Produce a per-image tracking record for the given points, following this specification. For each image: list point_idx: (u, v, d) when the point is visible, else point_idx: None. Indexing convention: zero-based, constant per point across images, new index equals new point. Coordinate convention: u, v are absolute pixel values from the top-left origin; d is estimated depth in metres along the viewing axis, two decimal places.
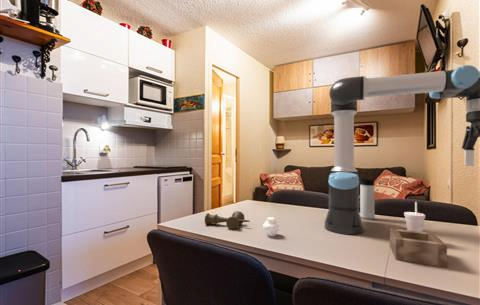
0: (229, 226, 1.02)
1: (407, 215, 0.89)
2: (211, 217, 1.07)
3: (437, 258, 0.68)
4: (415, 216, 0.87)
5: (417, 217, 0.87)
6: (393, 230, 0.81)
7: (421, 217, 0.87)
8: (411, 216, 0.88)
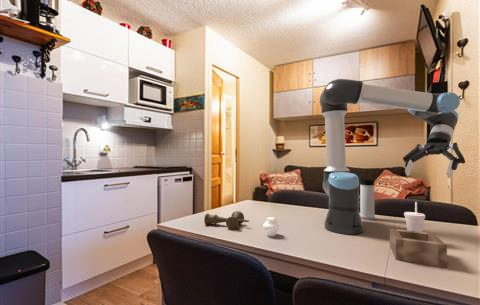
0: (229, 226, 1.01)
1: (407, 215, 0.89)
2: (211, 217, 1.07)
3: (437, 258, 0.68)
4: (415, 216, 0.87)
5: (417, 217, 0.87)
6: (393, 230, 0.81)
7: (421, 217, 0.87)
8: (411, 216, 0.88)
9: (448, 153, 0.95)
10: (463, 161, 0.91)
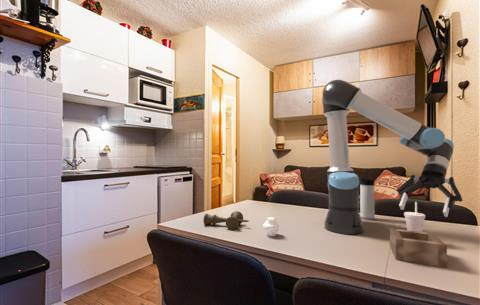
0: (228, 226, 1.01)
1: (407, 215, 0.89)
2: (210, 217, 1.07)
3: (437, 258, 0.68)
4: (415, 216, 0.87)
5: (417, 217, 0.87)
6: (393, 230, 0.81)
7: (421, 217, 0.87)
8: (411, 216, 0.88)
9: (444, 189, 0.90)
10: (460, 199, 0.86)
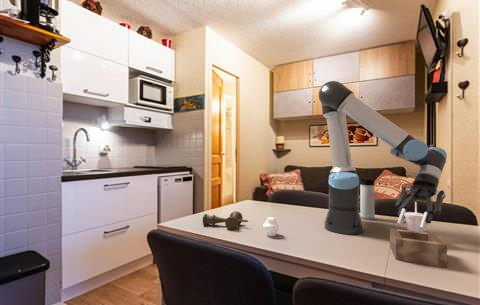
0: (228, 226, 1.01)
1: (407, 215, 0.89)
2: (209, 218, 1.06)
3: (437, 258, 0.68)
4: (415, 216, 0.87)
5: (417, 217, 0.87)
6: (393, 230, 0.81)
7: (421, 217, 0.87)
8: (411, 216, 0.88)
9: (428, 202, 0.89)
10: (437, 214, 0.85)
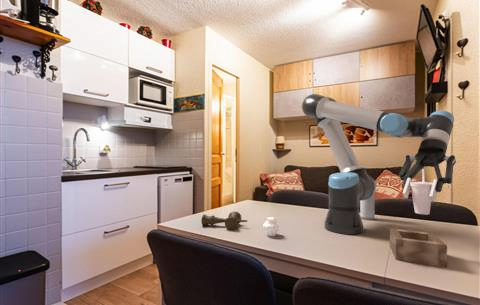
0: (228, 227, 1.01)
1: (414, 184, 0.77)
2: (208, 218, 1.06)
3: (437, 258, 0.68)
4: (423, 185, 0.75)
5: (425, 186, 0.75)
6: (393, 230, 0.81)
7: (430, 185, 0.75)
8: (418, 185, 0.76)
9: (437, 169, 0.78)
10: (448, 181, 0.74)
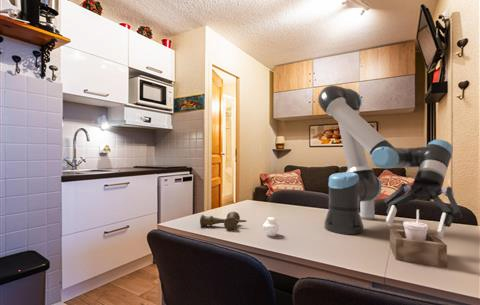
0: (227, 227, 1.00)
1: (407, 225, 0.75)
2: (207, 219, 1.04)
3: (437, 258, 0.68)
4: (416, 227, 0.73)
5: (419, 228, 0.73)
6: (393, 230, 0.81)
7: (424, 228, 0.72)
8: (412, 227, 0.74)
9: (440, 202, 0.74)
10: (459, 215, 0.69)
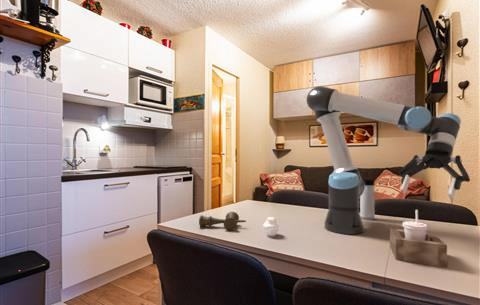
0: (227, 227, 1.00)
1: (406, 226, 0.75)
2: (206, 219, 1.04)
3: (437, 258, 0.68)
4: (416, 227, 0.73)
5: (418, 228, 0.73)
6: (393, 230, 0.81)
7: (423, 228, 0.73)
8: (411, 227, 0.74)
9: (450, 169, 0.83)
10: (467, 179, 0.79)
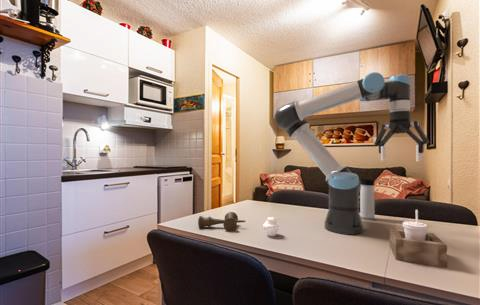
0: (227, 227, 0.99)
1: (406, 225, 0.75)
2: (205, 220, 1.03)
3: (437, 258, 0.68)
4: (416, 227, 0.73)
5: (418, 228, 0.73)
6: (393, 230, 0.81)
7: (423, 228, 0.73)
8: (411, 227, 0.74)
9: (412, 136, 1.01)
10: (427, 142, 0.98)
